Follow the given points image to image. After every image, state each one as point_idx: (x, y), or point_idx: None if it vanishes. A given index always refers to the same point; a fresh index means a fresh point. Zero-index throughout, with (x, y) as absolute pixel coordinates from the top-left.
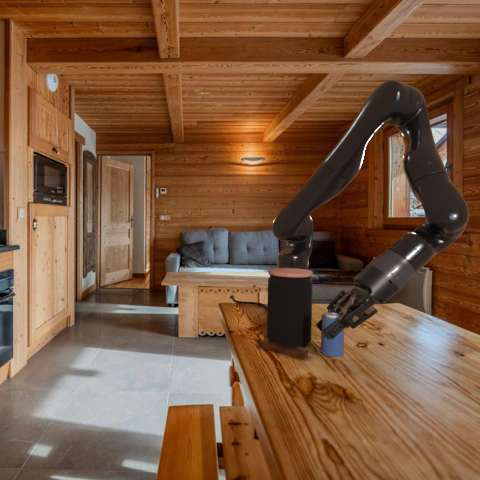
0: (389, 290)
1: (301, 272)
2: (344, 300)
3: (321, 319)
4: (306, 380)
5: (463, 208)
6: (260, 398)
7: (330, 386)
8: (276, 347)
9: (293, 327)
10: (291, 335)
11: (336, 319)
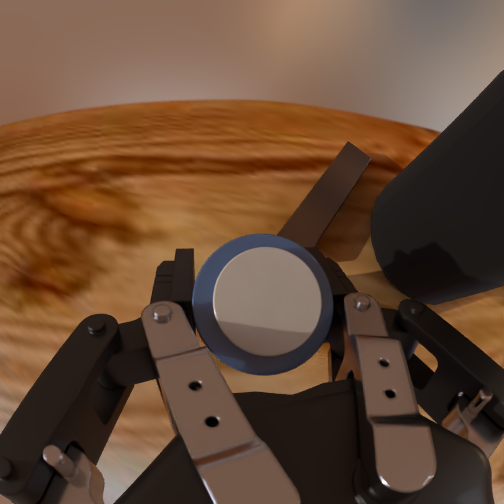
0: None
1: None
2: (359, 404)
3: (326, 264)
4: (110, 214)
5: None
6: (48, 118)
7: (76, 265)
8: (321, 176)
9: (400, 214)
10: (384, 220)
11: (193, 303)
